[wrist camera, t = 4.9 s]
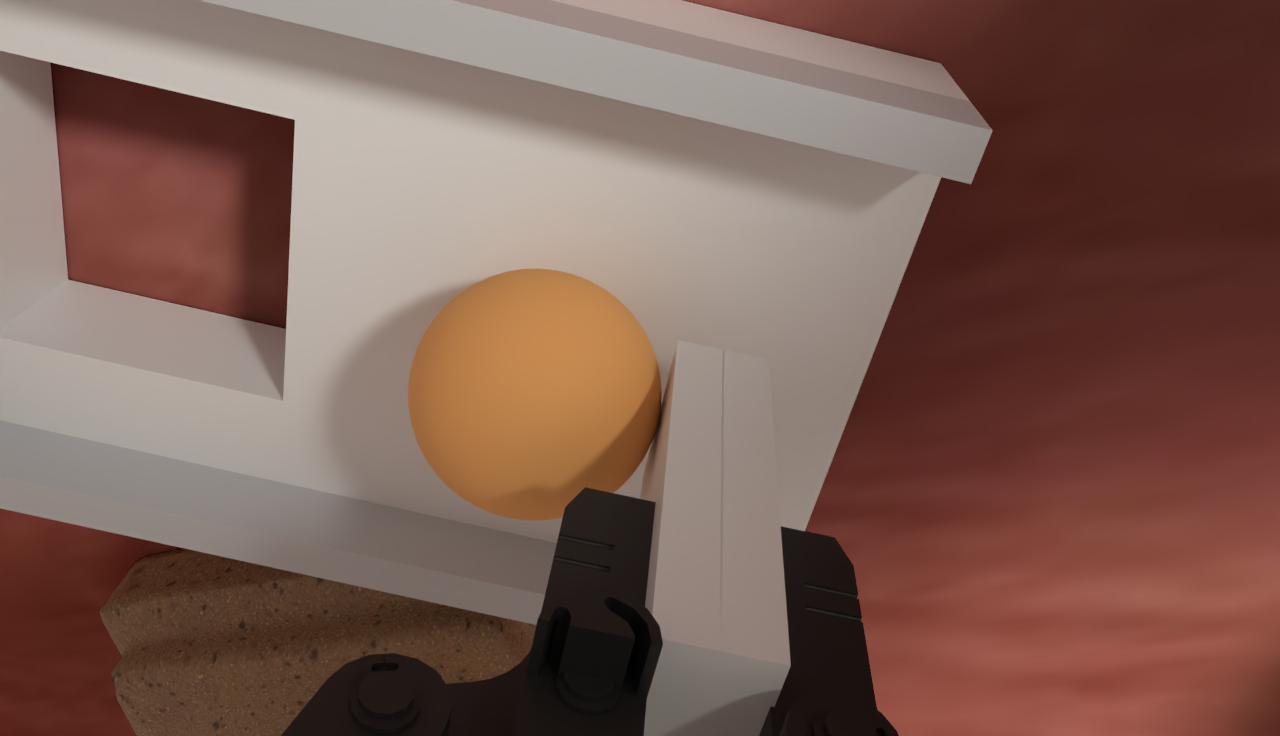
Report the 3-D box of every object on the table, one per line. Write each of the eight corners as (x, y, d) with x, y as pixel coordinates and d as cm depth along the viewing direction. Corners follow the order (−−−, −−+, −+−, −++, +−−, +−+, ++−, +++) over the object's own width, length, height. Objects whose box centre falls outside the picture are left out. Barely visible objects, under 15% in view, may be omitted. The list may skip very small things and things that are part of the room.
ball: (641, 230, 17) (404, 219, 16) (724, 358, 14) (438, 357, 13) (601, 417, 19) (388, 422, 18) (665, 565, 16) (414, 584, 15)
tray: (-103, -191, 17) (-357, -186, 13) (940, 63, 17) (1001, 141, 14) (-25, 366, 22) (-185, 488, 18) (766, 542, 23) (773, 696, 19)
